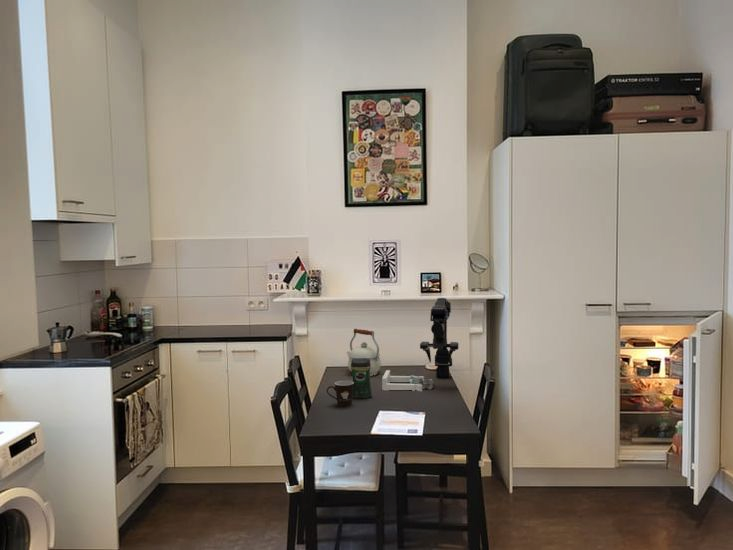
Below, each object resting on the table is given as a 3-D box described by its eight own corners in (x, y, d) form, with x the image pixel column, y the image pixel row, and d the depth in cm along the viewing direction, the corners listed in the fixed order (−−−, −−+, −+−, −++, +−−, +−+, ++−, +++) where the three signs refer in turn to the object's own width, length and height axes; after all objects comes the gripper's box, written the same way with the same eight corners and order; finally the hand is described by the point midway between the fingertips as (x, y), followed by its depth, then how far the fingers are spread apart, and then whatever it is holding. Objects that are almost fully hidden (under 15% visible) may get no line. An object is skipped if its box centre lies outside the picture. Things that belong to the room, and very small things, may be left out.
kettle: (390, 373, 298) (389, 329, 296) (367, 380, 285) (366, 334, 283) (358, 367, 315) (357, 325, 314) (335, 373, 302) (334, 329, 301)
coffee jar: (372, 394, 258) (371, 356, 257) (371, 399, 250) (370, 360, 249) (352, 394, 259) (351, 356, 258) (350, 399, 251) (349, 360, 250)
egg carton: (417, 384, 275) (417, 376, 275) (432, 384, 274) (432, 376, 274) (418, 390, 264) (418, 381, 264) (433, 390, 264) (433, 381, 264)
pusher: (413, 382, 276) (413, 373, 276) (412, 389, 264) (412, 379, 264) (411, 382, 276) (411, 373, 276) (409, 388, 265) (409, 379, 264)
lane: (424, 381, 279) (423, 370, 278) (422, 391, 261) (422, 379, 260) (386, 381, 282) (386, 369, 281) (382, 390, 264) (382, 378, 263)
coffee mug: (356, 402, 245) (356, 381, 244) (350, 408, 237) (349, 386, 236) (333, 400, 249) (332, 379, 248) (326, 406, 240) (325, 384, 240)
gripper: (418, 334, 260) (418, 365, 261) (457, 334, 256) (457, 366, 257) (421, 330, 271) (421, 360, 272) (458, 330, 267) (458, 361, 268)
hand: (439, 362), depth 267 cm, fingers open, 9 cm apart
